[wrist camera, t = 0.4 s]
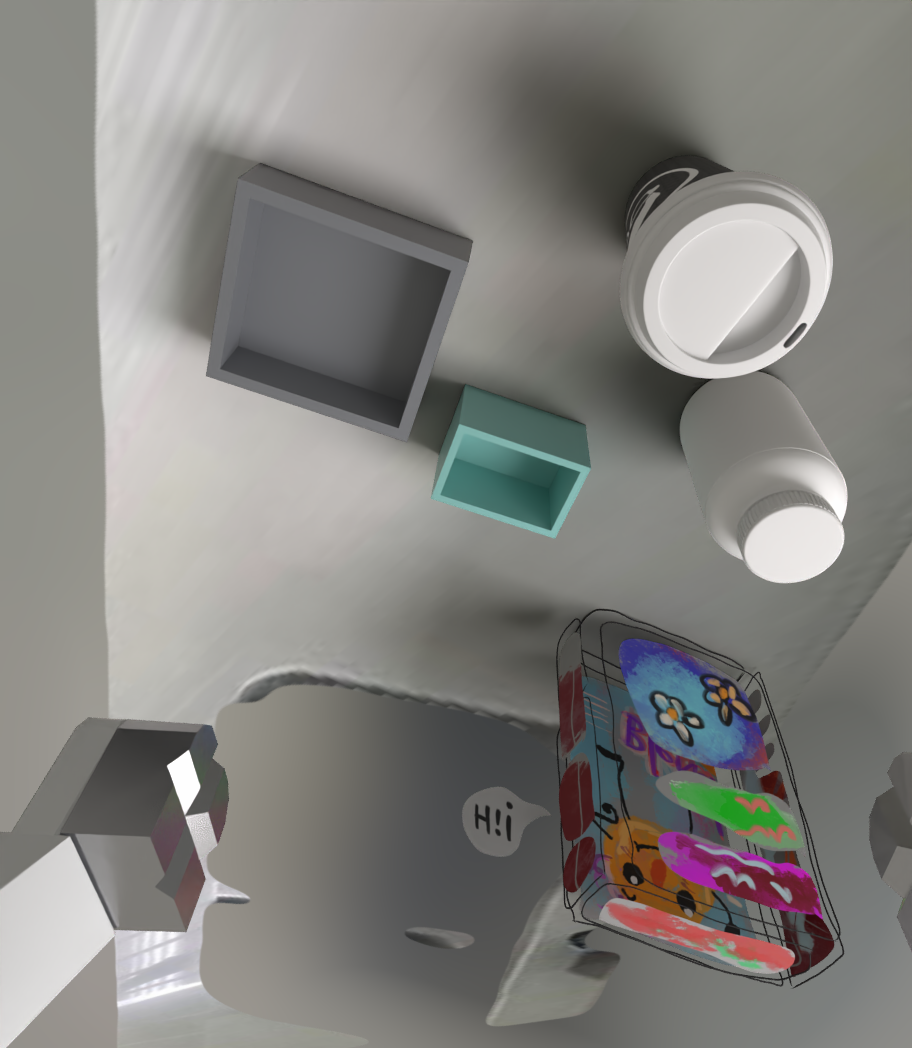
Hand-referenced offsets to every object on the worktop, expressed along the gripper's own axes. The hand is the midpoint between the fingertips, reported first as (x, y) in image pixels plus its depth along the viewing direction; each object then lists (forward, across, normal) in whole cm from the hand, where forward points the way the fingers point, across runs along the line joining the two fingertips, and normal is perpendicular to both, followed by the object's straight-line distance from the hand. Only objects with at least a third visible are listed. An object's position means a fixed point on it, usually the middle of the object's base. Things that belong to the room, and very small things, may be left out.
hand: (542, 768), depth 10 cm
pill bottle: (+45, -15, +17) cm, 50 cm away
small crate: (+44, 0, +19) cm, 48 cm away
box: (+45, -9, +38) cm, 60 cm away
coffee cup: (+44, -9, +3) cm, 45 cm away
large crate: (+44, +12, +8) cm, 47 cm away
